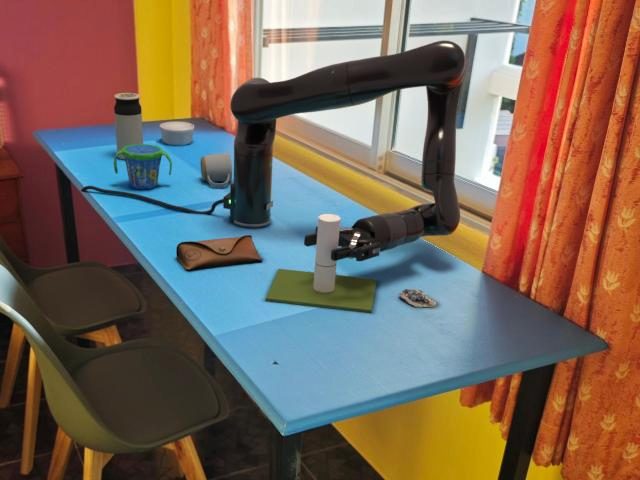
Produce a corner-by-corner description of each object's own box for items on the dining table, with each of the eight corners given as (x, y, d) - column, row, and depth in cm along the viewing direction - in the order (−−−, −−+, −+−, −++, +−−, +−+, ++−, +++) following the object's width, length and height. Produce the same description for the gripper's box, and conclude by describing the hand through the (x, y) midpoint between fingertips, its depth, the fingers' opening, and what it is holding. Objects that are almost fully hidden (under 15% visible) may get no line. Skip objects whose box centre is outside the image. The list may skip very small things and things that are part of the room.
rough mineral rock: (409, 289, 160) (410, 280, 159) (444, 300, 156) (445, 292, 155) (392, 299, 156) (393, 291, 155) (427, 311, 152) (429, 303, 150)
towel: (265, 300, 154) (265, 298, 153) (278, 271, 166) (278, 268, 166) (371, 312, 150) (371, 310, 150) (376, 281, 163) (376, 279, 163)
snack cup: (175, 181, 217) (174, 144, 211) (169, 193, 208) (167, 155, 202) (120, 178, 217) (117, 142, 212) (111, 190, 208) (109, 152, 203)
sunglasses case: (187, 270, 164) (182, 238, 163) (179, 274, 170) (174, 244, 170) (265, 260, 170) (260, 229, 169) (254, 264, 176) (250, 235, 176)
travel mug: (149, 156, 237) (146, 95, 227) (132, 162, 231) (128, 99, 221) (129, 151, 240) (125, 91, 231) (112, 157, 235) (107, 95, 225)
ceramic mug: (199, 177, 220) (199, 150, 216) (227, 176, 222) (228, 149, 218) (206, 189, 212) (205, 162, 207) (235, 188, 213) (235, 160, 209)
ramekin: (193, 147, 247) (192, 130, 244) (158, 146, 247) (157, 129, 244) (195, 138, 256) (195, 121, 254) (162, 137, 256) (161, 120, 254)
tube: (333, 293, 156) (339, 222, 148) (312, 291, 157) (317, 220, 149) (335, 285, 159) (341, 215, 152) (314, 282, 160) (319, 213, 152)
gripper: (358, 205, 163) (297, 219, 155) (406, 226, 153) (343, 242, 145) (355, 239, 167) (295, 254, 159) (401, 261, 157) (340, 278, 149)
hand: (318, 248), depth 152 cm, fingers open, 8 cm apart
